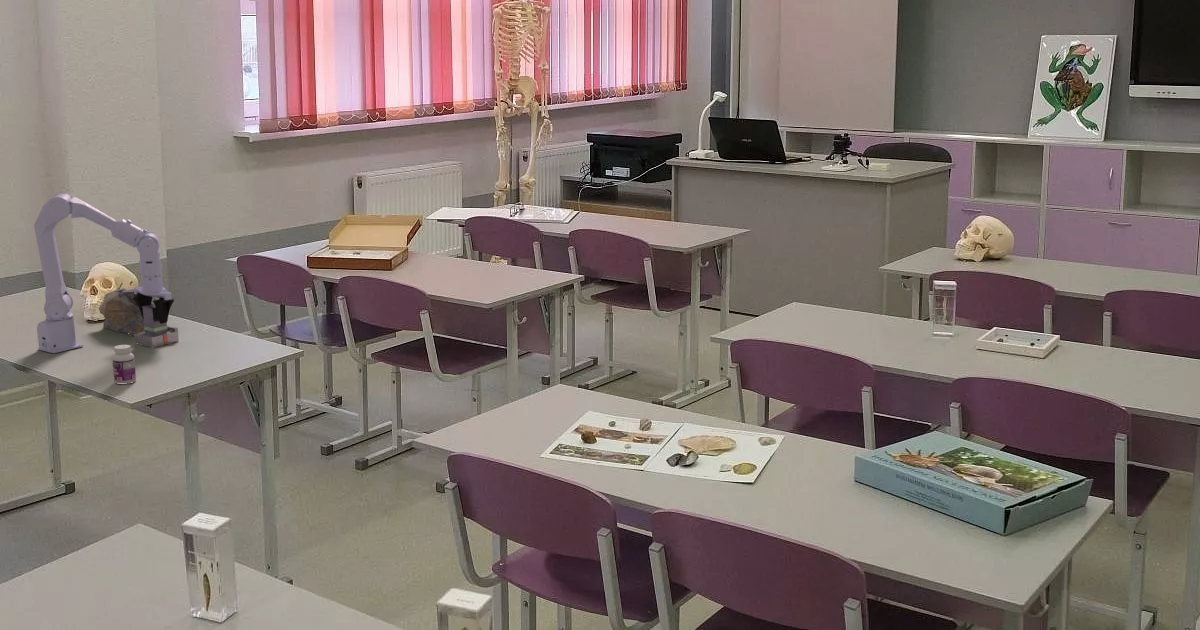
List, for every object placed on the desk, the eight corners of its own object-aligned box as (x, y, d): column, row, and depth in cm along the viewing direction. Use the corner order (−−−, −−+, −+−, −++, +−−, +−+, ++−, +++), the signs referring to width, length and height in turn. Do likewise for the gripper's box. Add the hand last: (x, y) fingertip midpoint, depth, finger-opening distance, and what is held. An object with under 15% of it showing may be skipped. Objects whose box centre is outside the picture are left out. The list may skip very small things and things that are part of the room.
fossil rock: (101, 340, 369) (93, 292, 368) (129, 336, 377) (121, 288, 376) (139, 337, 357) (131, 287, 356) (167, 332, 364) (159, 283, 363)
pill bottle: (110, 382, 314) (106, 346, 312) (129, 378, 318) (125, 342, 316) (121, 386, 311) (118, 350, 308) (140, 381, 315) (137, 346, 312)
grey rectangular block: (154, 335, 349) (152, 308, 347) (144, 332, 352) (142, 306, 350) (167, 331, 353) (165, 305, 351) (157, 329, 355) (155, 303, 354)
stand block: (153, 347, 347) (151, 334, 346) (135, 343, 352) (133, 330, 351) (179, 341, 354) (178, 327, 354) (161, 337, 359) (160, 324, 358)
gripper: (179, 275, 348) (182, 321, 351) (147, 270, 355) (151, 314, 359) (158, 280, 342) (162, 326, 345) (126, 274, 350) (130, 319, 353)
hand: (155, 321), depth 352 cm, fingers open, 7 cm apart
